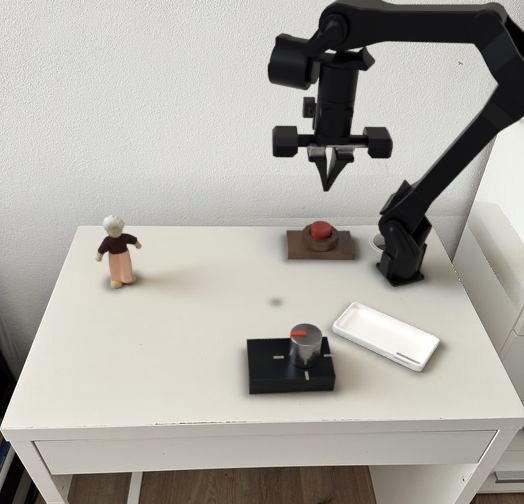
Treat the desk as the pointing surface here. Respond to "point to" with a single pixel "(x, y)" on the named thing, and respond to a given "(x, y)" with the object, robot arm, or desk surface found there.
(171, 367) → the desk surface
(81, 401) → the desk surface
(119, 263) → the grandmother figurine
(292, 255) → the control block
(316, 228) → the power button
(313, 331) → the hob knob
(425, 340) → the phone case
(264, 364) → the panel
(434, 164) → the robot arm
